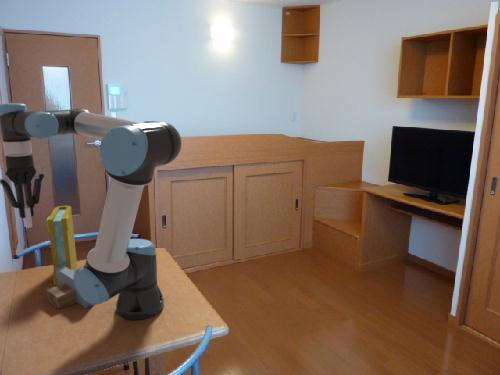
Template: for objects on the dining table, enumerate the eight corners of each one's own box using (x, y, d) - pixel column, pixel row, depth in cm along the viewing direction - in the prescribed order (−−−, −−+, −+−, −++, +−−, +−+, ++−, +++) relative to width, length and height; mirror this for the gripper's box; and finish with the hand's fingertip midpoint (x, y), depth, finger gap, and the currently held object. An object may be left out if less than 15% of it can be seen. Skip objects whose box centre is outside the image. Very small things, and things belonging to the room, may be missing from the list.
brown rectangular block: (76, 302, 136) (75, 290, 135) (58, 309, 131) (57, 297, 130) (65, 294, 141) (64, 283, 140) (47, 301, 136) (46, 289, 135)
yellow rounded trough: (74, 282, 149) (67, 218, 143) (54, 284, 147) (46, 219, 141) (79, 263, 165) (73, 205, 159) (61, 265, 163) (54, 206, 157)
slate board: (94, 304, 134) (92, 282, 132) (85, 308, 132) (83, 286, 130) (65, 285, 147) (63, 265, 145) (57, 288, 144) (55, 268, 142)
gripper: (35, 150, 132) (43, 219, 137) (-10, 155, 122) (1, 229, 128) (45, 153, 127) (53, 224, 133) (0, 158, 117) (11, 234, 123)
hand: (28, 226), depth 130 cm, fingers closed
